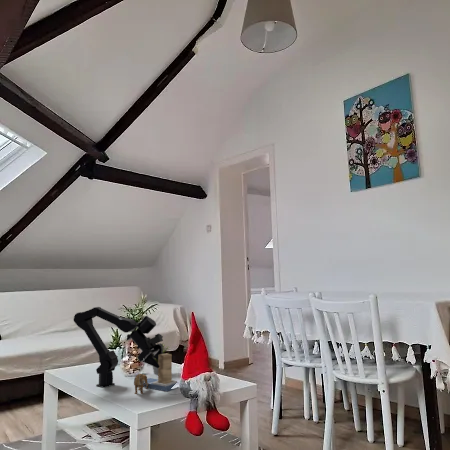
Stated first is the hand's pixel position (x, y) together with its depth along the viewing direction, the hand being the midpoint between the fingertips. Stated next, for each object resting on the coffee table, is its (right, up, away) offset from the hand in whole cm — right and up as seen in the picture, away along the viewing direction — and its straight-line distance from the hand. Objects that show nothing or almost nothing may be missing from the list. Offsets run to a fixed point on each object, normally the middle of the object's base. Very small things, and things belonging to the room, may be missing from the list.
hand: (162, 365), depth 189 cm
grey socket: (+1, -8, -1) cm, 8 cm away
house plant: (-6, -15, +28) cm, 32 cm away
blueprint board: (-2, -10, +1) cm, 11 cm away
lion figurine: (-8, -9, -8) cm, 15 cm away
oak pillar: (+1, -8, -1) cm, 8 cm away
